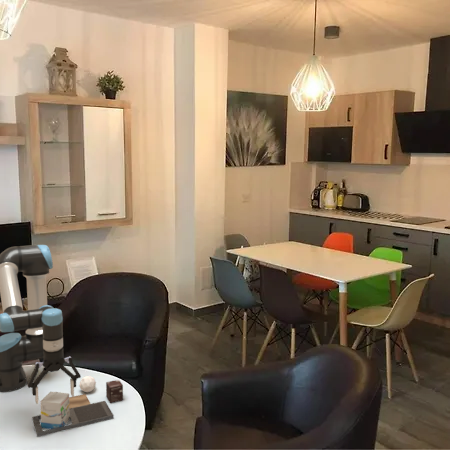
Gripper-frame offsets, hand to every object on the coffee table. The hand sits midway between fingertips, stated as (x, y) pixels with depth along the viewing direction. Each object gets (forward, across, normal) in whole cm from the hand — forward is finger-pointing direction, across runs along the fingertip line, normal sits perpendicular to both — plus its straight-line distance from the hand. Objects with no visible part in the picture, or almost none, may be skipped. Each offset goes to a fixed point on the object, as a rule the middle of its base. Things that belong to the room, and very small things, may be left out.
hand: (54, 398), depth 202 cm
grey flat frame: (+11, +7, 0) cm, 13 cm away
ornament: (+11, +18, +22) cm, 30 cm away
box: (+11, +27, +10) cm, 31 cm away
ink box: (+11, 0, +1) cm, 11 cm away
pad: (+11, +11, +12) cm, 20 cm away
